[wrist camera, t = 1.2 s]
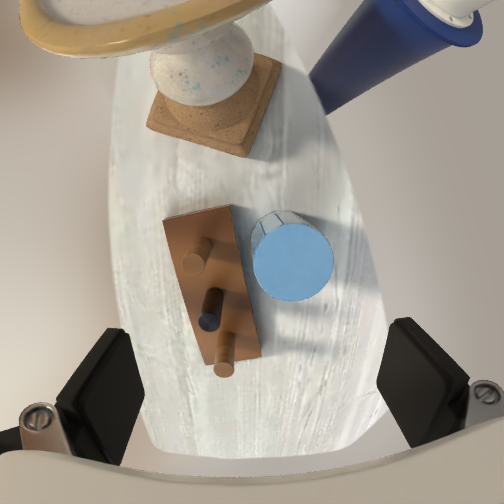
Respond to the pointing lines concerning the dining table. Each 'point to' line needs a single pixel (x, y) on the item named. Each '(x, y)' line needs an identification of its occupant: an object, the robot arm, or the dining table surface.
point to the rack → (213, 286)
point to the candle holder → (171, 59)
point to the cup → (290, 256)
